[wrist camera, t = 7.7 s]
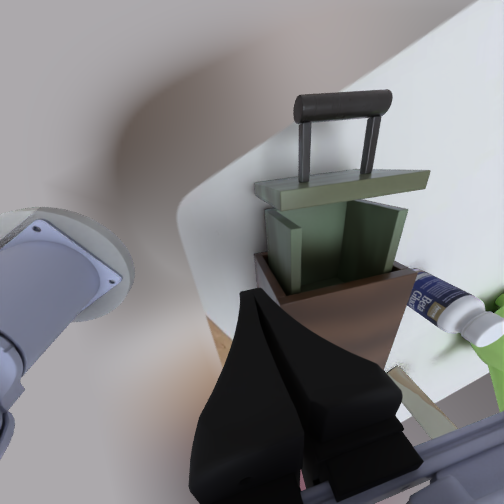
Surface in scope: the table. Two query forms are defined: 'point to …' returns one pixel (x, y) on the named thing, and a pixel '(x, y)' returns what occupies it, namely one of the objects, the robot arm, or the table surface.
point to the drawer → (335, 203)
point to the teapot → (495, 358)
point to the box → (421, 406)
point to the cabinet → (348, 308)
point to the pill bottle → (454, 310)
